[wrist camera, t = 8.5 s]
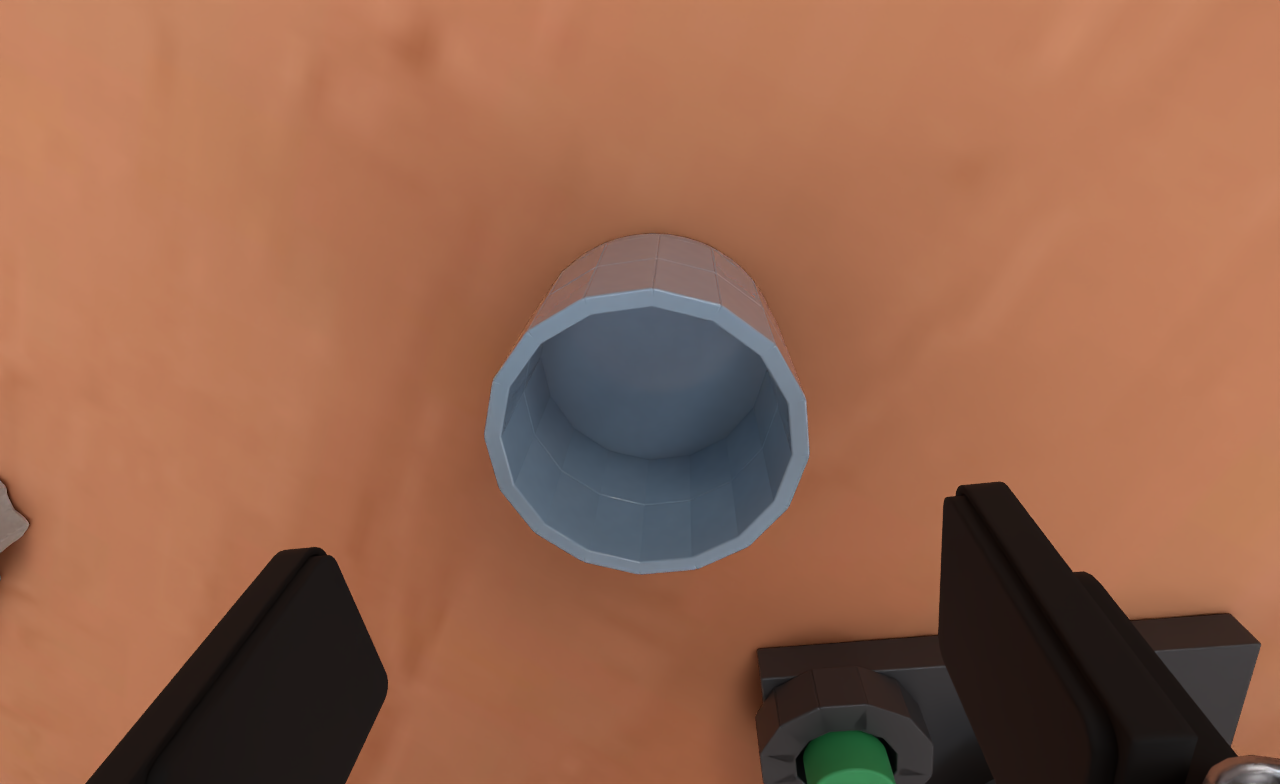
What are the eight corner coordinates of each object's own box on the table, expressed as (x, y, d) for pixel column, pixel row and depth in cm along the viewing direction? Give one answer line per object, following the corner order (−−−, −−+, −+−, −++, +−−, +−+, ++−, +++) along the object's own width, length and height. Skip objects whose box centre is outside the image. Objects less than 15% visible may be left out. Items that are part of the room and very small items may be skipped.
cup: (561, 470, 22) (526, 585, 17) (508, 252, 19) (447, 316, 14) (784, 445, 21) (816, 559, 16) (766, 214, 18) (798, 267, 13)
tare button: (804, 784, 24) (812, 828, 23) (799, 729, 23) (807, 772, 21) (886, 780, 24) (899, 824, 22) (885, 724, 22) (899, 767, 21)
